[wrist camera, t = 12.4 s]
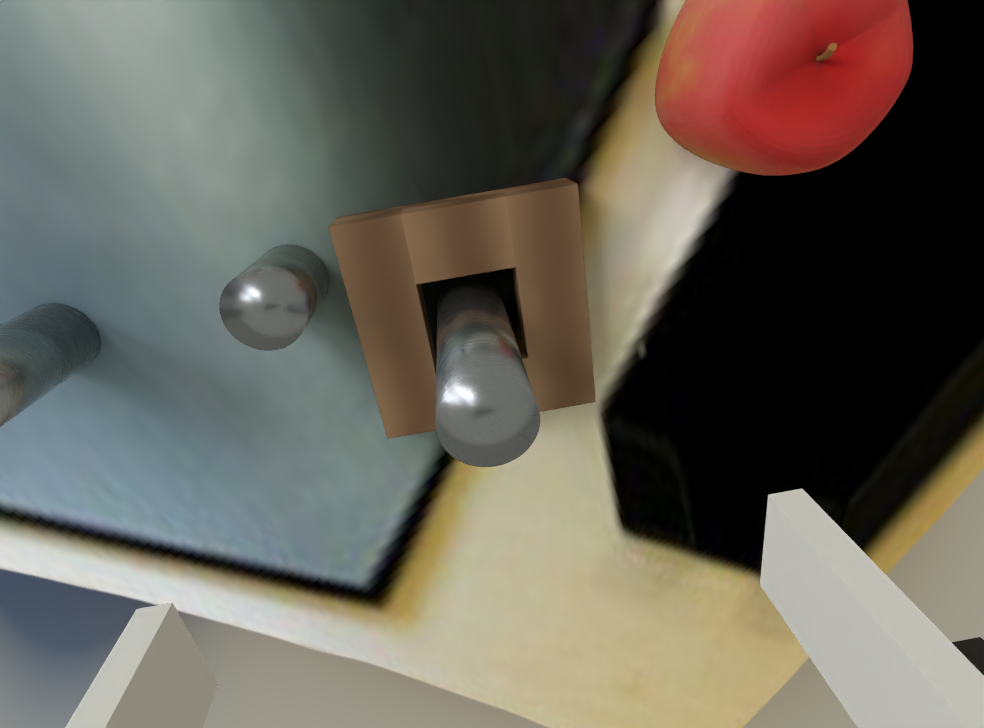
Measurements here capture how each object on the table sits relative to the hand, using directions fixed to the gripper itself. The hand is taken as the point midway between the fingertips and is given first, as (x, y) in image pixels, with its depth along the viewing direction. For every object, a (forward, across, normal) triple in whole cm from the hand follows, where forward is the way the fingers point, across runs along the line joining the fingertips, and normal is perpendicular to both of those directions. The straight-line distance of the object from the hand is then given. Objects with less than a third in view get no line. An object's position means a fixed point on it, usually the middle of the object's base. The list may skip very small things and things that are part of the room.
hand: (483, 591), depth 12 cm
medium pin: (+23, -23, +1) cm, 33 cm away
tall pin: (+23, +1, -1) cm, 23 cm away
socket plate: (+23, +1, -1) cm, 23 cm away
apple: (+23, +16, +9) cm, 29 cm away
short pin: (+23, -9, +2) cm, 25 cm away
